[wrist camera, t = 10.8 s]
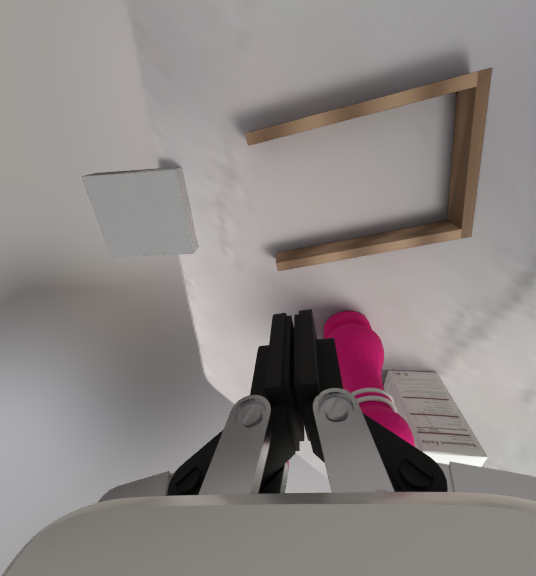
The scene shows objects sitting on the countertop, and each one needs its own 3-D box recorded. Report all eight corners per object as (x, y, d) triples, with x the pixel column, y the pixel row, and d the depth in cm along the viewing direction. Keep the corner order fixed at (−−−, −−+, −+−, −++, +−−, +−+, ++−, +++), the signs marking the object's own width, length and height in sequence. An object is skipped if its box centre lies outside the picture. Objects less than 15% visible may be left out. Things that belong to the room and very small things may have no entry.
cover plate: (183, 166, 30) (175, 169, 28) (199, 245, 35) (193, 253, 33) (95, 173, 31) (81, 176, 29) (122, 249, 36) (111, 257, 33)
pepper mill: (328, 302, 37) (362, 457, 20) (381, 312, 37) (461, 474, 20) (314, 343, 41) (332, 505, 23) (362, 352, 41) (416, 518, 24)
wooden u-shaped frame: (470, 73, 24) (492, 67, 22) (456, 227, 31) (471, 236, 29) (249, 132, 28) (245, 133, 25) (278, 260, 34) (277, 271, 32)
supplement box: (424, 404, 46) (467, 492, 35) (377, 401, 46) (405, 487, 35) (438, 371, 42) (491, 458, 31) (387, 368, 42) (421, 453, 31)
